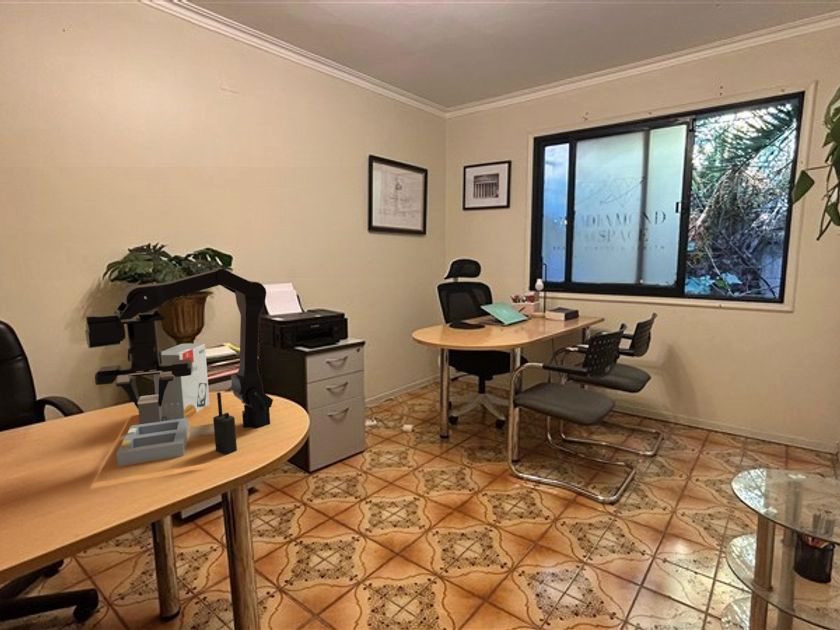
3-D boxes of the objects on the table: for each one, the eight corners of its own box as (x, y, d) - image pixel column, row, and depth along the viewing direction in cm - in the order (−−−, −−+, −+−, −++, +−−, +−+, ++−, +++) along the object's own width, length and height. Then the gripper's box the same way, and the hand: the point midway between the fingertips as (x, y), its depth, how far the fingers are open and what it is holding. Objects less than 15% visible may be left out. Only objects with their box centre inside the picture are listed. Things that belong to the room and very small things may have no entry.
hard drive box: (184, 425, 126) (177, 355, 123) (157, 425, 126) (149, 355, 123) (210, 405, 142) (205, 342, 139) (186, 405, 142) (180, 342, 139)
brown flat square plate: (220, 426, 126) (220, 422, 126) (219, 437, 118) (219, 433, 118) (191, 430, 123) (191, 426, 123) (189, 442, 116) (189, 438, 116)
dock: (189, 431, 122) (188, 416, 121) (184, 459, 107) (182, 441, 106) (132, 440, 117) (131, 424, 116) (118, 470, 102) (116, 451, 101)
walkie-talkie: (238, 453, 109) (233, 393, 107) (225, 459, 106) (220, 397, 104) (226, 449, 112) (221, 389, 109) (213, 454, 109) (208, 393, 107)
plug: (162, 415, 110) (160, 394, 109) (159, 421, 106) (157, 399, 105) (142, 418, 108) (140, 396, 107) (139, 424, 105) (137, 401, 104)
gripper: (191, 331, 115) (196, 391, 117) (103, 338, 108) (110, 401, 110) (187, 340, 105) (193, 405, 107) (90, 347, 98) (98, 417, 100)
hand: (150, 407), depth 107 cm, fingers closed on plug, 4 cm apart
